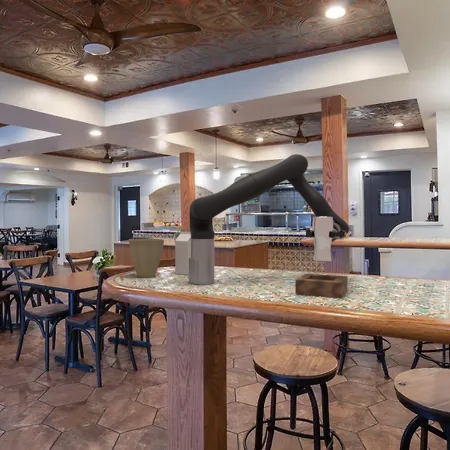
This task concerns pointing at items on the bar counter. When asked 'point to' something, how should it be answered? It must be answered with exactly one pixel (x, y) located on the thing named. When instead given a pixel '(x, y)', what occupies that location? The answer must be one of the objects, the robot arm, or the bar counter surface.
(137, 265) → the plant pot
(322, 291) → the walnut well block
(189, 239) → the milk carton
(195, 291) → the bar counter surface
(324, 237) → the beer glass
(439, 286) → the bar counter surface
